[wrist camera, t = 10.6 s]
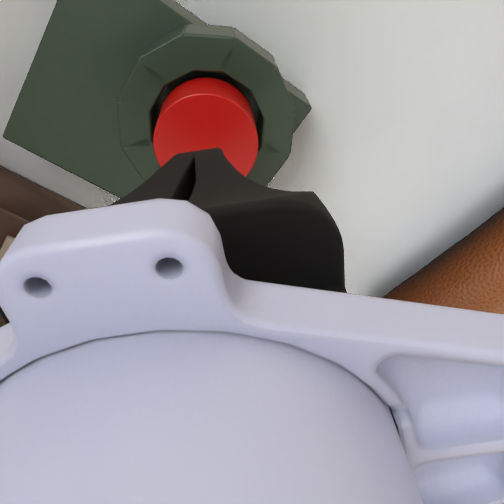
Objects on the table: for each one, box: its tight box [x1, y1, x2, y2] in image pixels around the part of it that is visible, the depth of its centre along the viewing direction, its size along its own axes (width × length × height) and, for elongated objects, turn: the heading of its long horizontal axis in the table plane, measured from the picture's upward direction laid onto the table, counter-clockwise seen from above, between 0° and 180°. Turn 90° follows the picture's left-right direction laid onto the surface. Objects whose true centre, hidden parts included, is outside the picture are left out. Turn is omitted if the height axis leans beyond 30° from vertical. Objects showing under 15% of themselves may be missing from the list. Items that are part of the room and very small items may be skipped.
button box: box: [3, 0, 312, 198], centre depth 19 cm, size 10×9×4 cm
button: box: [153, 77, 258, 177], centre depth 17 cm, size 4×4×2 cm
